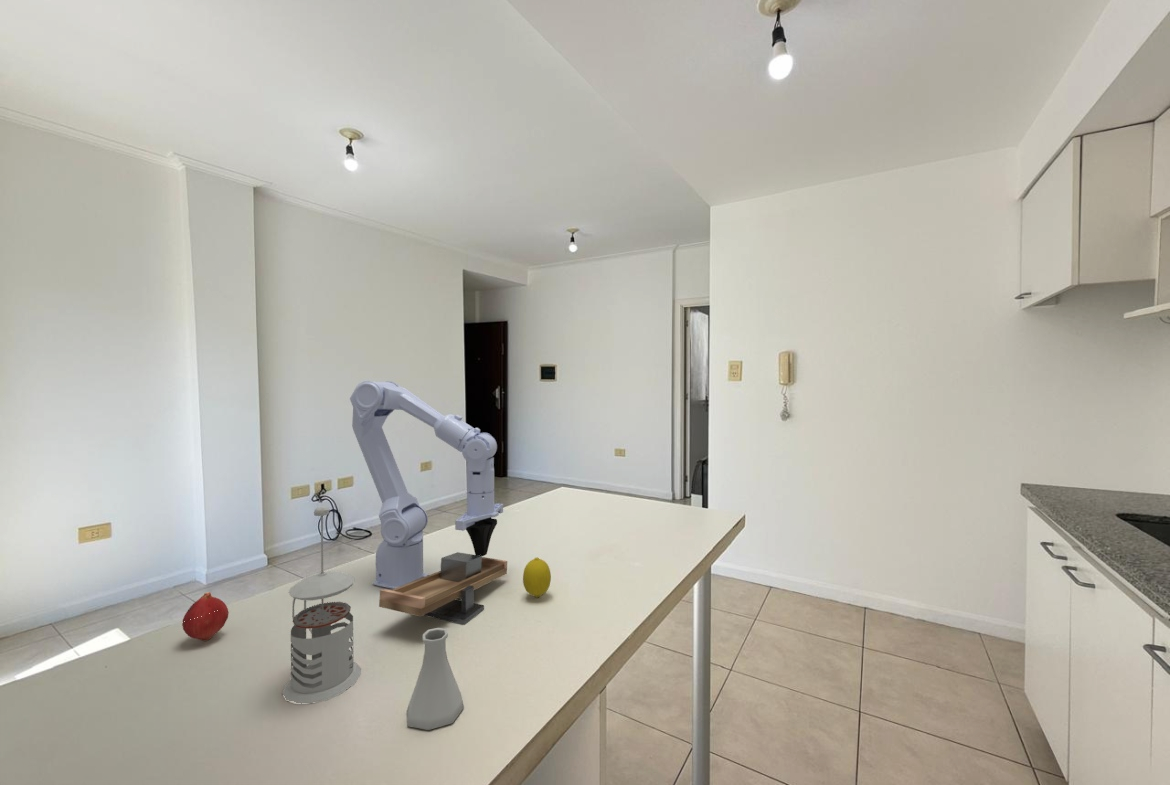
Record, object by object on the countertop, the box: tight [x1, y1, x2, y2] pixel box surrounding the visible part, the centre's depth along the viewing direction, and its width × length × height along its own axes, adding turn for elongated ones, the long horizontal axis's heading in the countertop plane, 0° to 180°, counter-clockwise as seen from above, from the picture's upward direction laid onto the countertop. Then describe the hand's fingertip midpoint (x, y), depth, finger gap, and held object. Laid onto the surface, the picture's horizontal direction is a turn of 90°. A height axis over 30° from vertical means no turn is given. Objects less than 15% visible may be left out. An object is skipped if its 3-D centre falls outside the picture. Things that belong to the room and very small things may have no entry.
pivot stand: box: [417, 576, 485, 626], centre depth 85 cm, size 14×6×5 cm, turn 68°
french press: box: [282, 505, 362, 705], centre depth 65 cm, size 10×12×25 cm
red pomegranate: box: [181, 591, 230, 642], centre depth 75 cm, size 6×6×8 cm
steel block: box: [440, 551, 483, 582], centre depth 90 cm, size 6×5×4 cm
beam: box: [378, 556, 508, 617], centre depth 87 cm, size 9×26×3 cm, turn 158°
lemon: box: [522, 557, 552, 599], centre depth 90 cm, size 6×6×8 cm
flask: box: [406, 627, 465, 731], centre depth 58 cm, size 7×7×10 cm
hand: (481, 554), depth 96 cm, fingers closed
